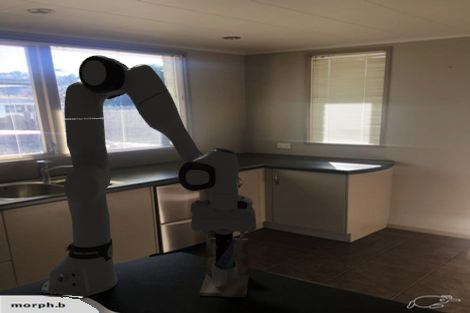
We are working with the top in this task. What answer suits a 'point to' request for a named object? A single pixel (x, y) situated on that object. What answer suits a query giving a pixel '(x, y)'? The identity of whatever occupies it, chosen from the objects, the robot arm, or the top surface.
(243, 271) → the brown l-shaped piece
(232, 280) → the ring
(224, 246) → the spray can
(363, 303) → the top surface
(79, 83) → the robot arm
